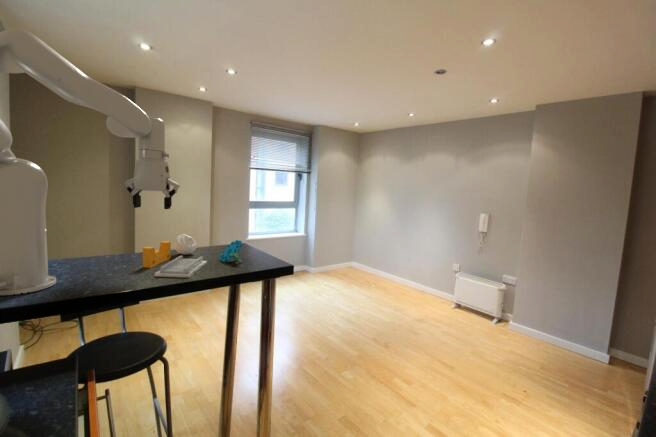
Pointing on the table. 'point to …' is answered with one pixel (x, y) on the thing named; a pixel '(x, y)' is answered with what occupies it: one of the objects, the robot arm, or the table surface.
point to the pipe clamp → (156, 254)
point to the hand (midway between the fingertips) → (152, 208)
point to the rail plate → (181, 267)
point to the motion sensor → (185, 244)
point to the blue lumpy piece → (231, 251)
